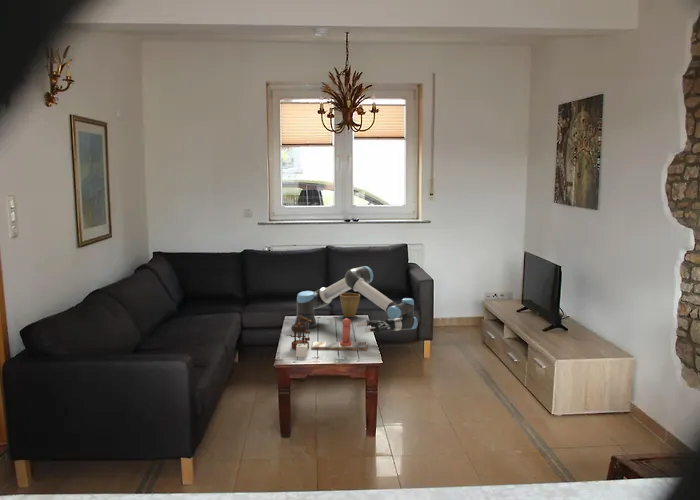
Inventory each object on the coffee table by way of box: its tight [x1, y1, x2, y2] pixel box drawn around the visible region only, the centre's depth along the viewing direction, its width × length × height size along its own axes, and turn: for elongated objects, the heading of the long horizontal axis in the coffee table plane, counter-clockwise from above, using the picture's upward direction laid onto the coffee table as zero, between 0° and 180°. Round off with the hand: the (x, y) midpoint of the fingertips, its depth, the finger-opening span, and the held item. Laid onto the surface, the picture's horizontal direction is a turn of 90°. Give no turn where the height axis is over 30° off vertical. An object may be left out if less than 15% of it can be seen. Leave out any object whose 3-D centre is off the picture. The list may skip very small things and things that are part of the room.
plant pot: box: [339, 292, 361, 318], centre depth 433 cm, size 15×15×16 cm
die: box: [295, 344, 308, 358], centre depth 341 cm, size 6×6×6 cm
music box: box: [286, 316, 312, 351], centre depth 353 cm, size 15×11×20 cm
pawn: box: [339, 317, 353, 346], centre depth 357 cm, size 7×7×16 cm
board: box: [310, 341, 368, 351], centre depth 358 cm, size 33×12×2 cm, turn 90°
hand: (360, 327), depth 360 cm, fingers open, 13 cm apart
